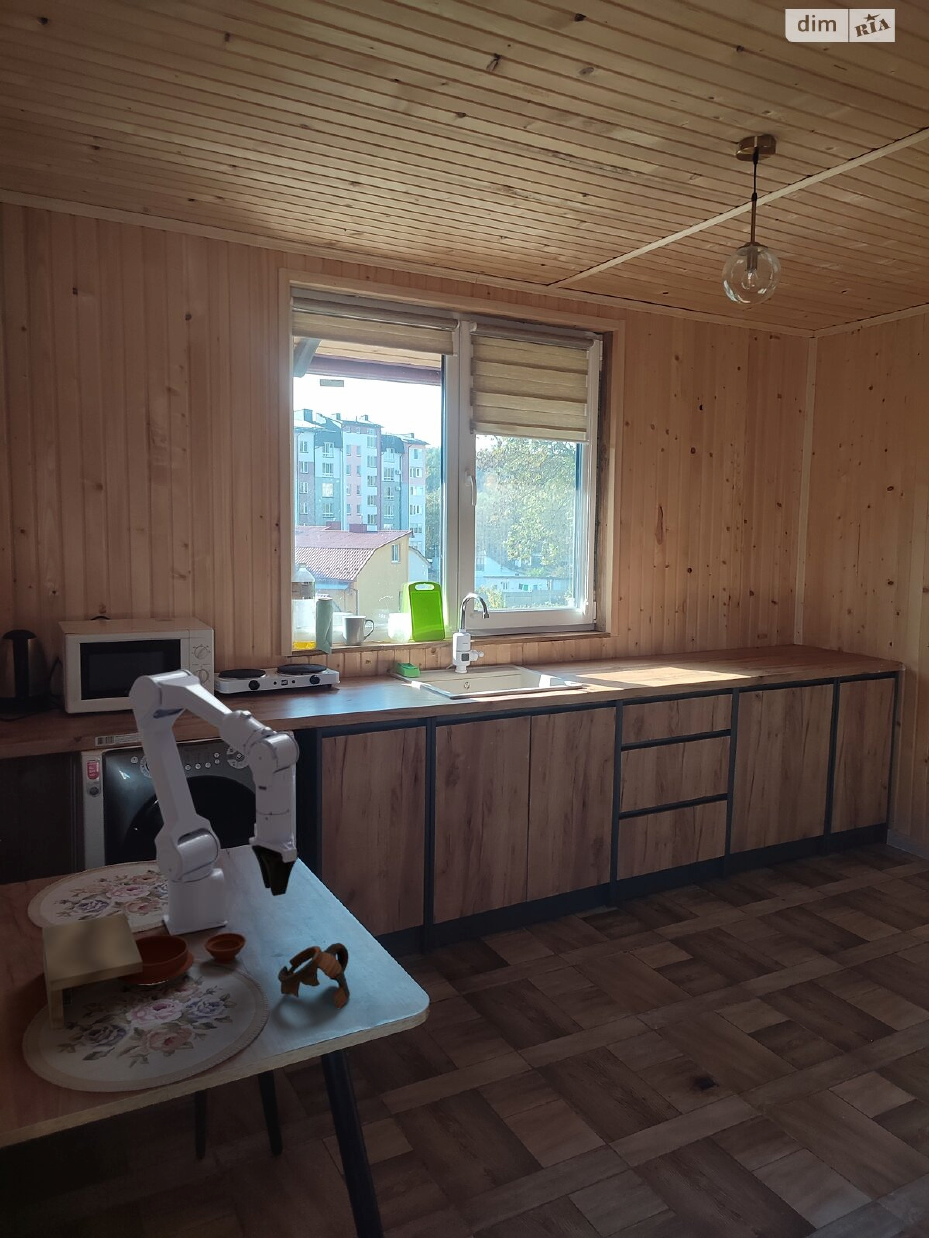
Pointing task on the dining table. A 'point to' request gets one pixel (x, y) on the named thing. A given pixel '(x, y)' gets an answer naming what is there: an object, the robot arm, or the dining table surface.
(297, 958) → the broken clay jug rim
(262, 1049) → the dining table surface
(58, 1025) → the low shelf
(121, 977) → the pottery
